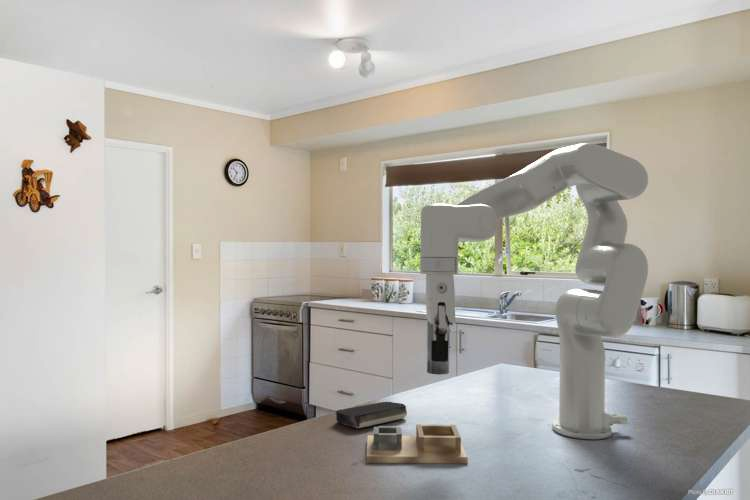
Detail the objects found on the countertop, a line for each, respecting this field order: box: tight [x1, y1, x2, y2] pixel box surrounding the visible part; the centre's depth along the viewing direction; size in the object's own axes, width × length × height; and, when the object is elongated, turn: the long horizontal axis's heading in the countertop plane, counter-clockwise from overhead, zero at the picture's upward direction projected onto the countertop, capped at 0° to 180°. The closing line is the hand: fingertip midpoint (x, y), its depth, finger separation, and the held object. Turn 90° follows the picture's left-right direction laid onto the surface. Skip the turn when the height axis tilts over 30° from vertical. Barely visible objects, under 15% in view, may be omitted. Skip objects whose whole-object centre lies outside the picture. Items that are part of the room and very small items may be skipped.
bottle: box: [426, 317, 451, 375], centre depth 114 cm, size 4×4×12 cm
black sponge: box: [335, 401, 408, 429], centre depth 134 cm, size 16×8×4 cm, turn 127°
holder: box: [366, 424, 469, 465], centre depth 114 cm, size 19×12×4 cm, turn 90°
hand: (438, 357), depth 114 cm, fingers closed on bottle, 4 cm apart
